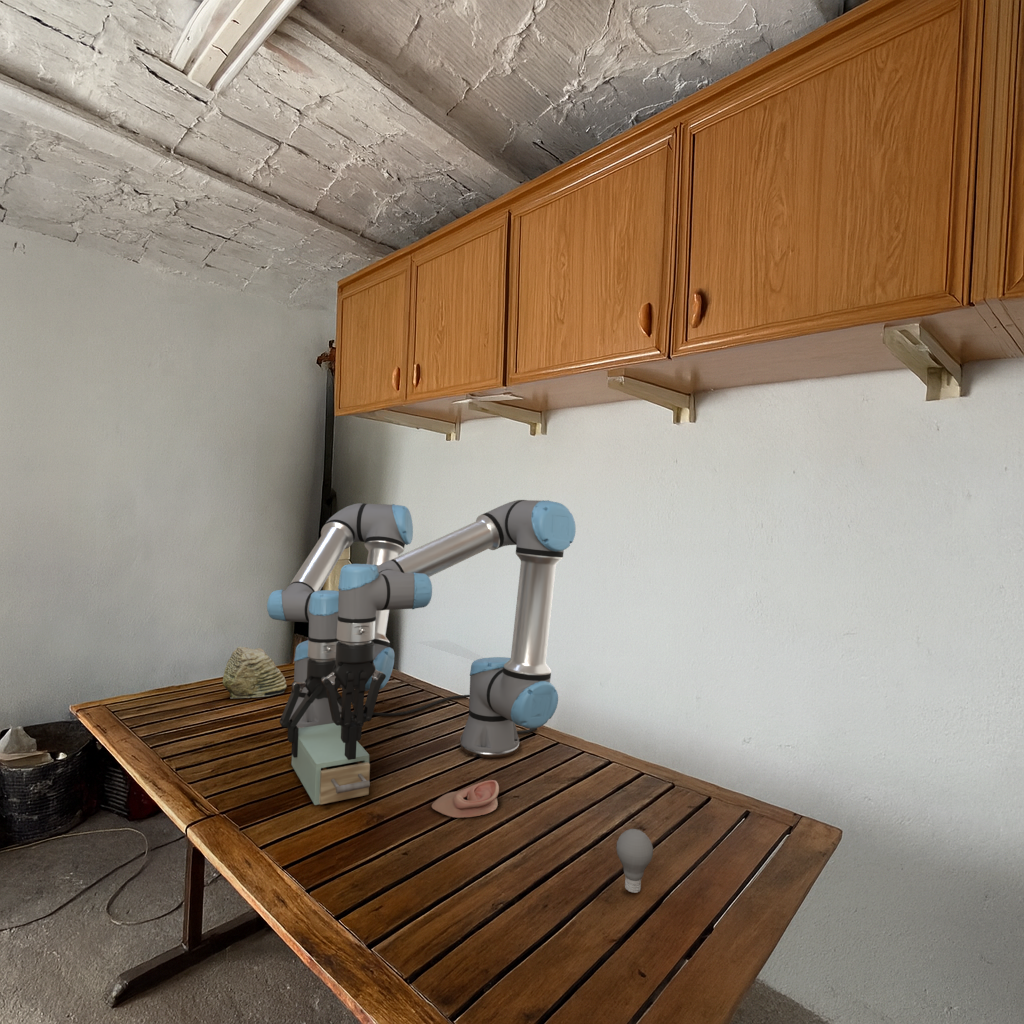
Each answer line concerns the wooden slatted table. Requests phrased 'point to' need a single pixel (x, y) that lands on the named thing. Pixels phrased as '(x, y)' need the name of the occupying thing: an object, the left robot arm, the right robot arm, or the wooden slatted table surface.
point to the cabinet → (321, 755)
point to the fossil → (252, 674)
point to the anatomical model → (469, 800)
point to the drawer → (344, 782)
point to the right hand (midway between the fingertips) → (350, 756)
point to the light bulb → (634, 857)
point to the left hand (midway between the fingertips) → (320, 750)
